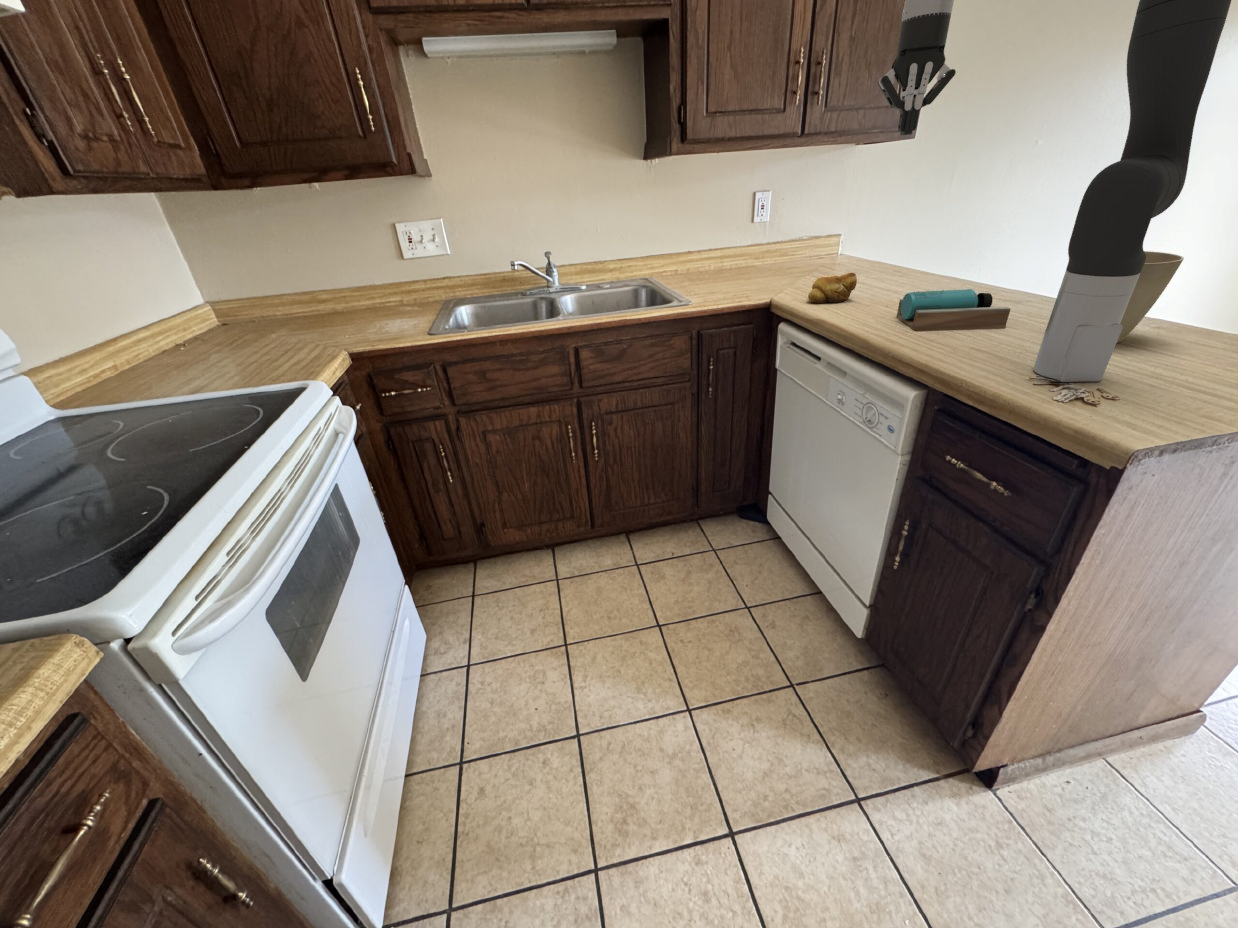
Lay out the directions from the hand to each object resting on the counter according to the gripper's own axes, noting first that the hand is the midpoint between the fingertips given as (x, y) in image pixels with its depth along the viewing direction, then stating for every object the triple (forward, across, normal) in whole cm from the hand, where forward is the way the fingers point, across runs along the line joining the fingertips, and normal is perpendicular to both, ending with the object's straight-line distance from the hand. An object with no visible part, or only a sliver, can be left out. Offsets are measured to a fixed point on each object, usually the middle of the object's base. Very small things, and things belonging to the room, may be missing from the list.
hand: (906, 134), depth 98 cm
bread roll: (+39, -1, +39) cm, 56 cm away
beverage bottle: (+35, +9, +12) cm, 38 cm away
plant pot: (+39, +43, -4) cm, 58 cm away
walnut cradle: (+39, +20, +12) cm, 46 cm away
